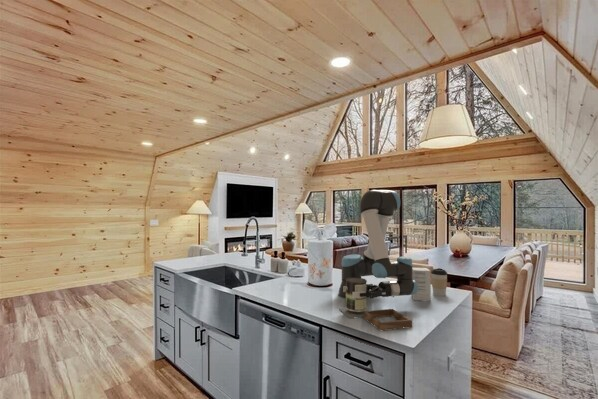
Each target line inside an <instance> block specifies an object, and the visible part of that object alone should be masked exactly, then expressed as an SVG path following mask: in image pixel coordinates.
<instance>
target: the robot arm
mask: <svg viewBox="0 0 598 399" xmlns="http://www.w3.org/2000/svg"><path fill="white" fill-rule="evenodd" d="M400 208H401V198H400V195H399V194H398V192H396V191H394V190H389V189H371V190H367V191H366V192H365V193H363V195H362V196H361V198H360V201H359V212H360V215H361V217H363V221H364V225H365V228H366V232H367V236H368V244H367V248H366V250H364V251H363V253H362V254H363V255H360V254H348V255H344V256H342V258H341V264H340V265H341V283H340V286H339V289H338V295H339V296H340V297H342V298H345V299H346V279H347V278H362V277H368V276H369V277H371V276H374V278H376V279H386V278H397V280H388V281H380V282H379V283H378V285H377V284H373V283H370V284H367V283H366V291H358V292H352V297H353V298H360V297H366V298H369V299H374V298H379V297H382V298H389V297H392V298H395V297H399V296H411V295H413V294H416V293H417V291H418V286H417V283H416V281H414V280H413V279H412V268H414V267H413V259H412V258H411V257H409V256H398V257H396V261H390V260H391V259H390V256H389V252H388V249H387V245H386V242H385V240H386V235H387V230H388V227H389V221H390V218H392V217H393V216H394V212H396V211H398V210H399V209H400Z"/></svg>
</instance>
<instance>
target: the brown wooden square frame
mask: <svg viewBox="0 0 598 399" xmlns="http://www.w3.org/2000/svg"><path fill="white" fill-rule="evenodd" d="M376 317H378V318H376ZM386 317H387V318H388V317H392V318H394V319H395V320H392V321H391V320H390V321H381V320H379V318H386ZM364 318H365V319H364ZM363 319H364V320H366V321H367V320H368V321H369V324H371V323H372V324H373V325H372V324H371V325H372V326H374V325H375V326H376V327H377V328H376V327H375V326H374V327H375V328H376V329H378V330H379V329H380V330H383V331H386V330H385V329H392V330H395V329H394V328H401V329H404V328H403V327H409V328H413V319H411V318H409V317H407V316H406V315H404V314H403V313H401V312H399V311H397V310H395V309H394V308H387V309H386V308H385V309H377V310H368V311H364V317H363ZM368 321H367V322H368ZM380 330H379V331H380Z"/></svg>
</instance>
